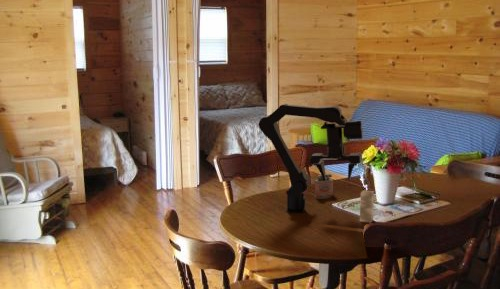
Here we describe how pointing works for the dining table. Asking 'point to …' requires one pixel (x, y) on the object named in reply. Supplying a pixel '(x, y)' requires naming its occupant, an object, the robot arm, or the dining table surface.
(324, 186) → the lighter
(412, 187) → the dining table surface
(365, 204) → the block
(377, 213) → the plinth
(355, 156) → the robot arm
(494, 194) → the dining table surface
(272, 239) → the dining table surface
